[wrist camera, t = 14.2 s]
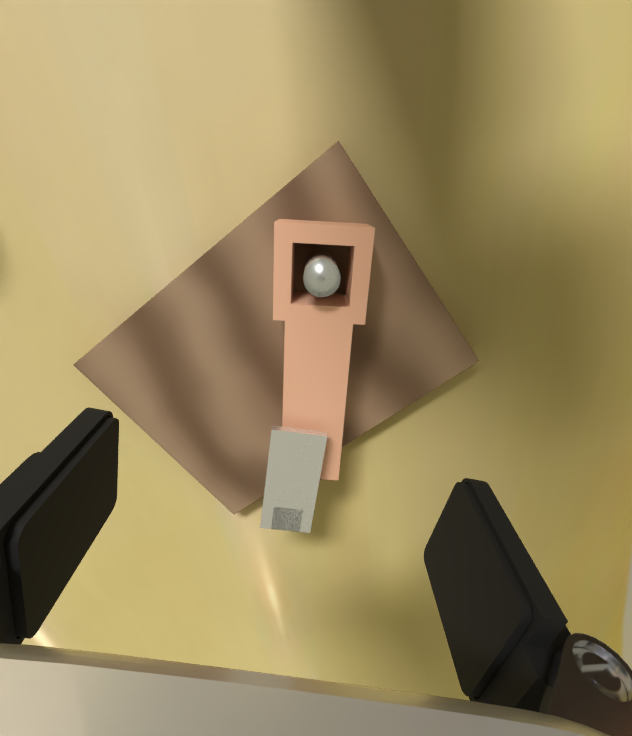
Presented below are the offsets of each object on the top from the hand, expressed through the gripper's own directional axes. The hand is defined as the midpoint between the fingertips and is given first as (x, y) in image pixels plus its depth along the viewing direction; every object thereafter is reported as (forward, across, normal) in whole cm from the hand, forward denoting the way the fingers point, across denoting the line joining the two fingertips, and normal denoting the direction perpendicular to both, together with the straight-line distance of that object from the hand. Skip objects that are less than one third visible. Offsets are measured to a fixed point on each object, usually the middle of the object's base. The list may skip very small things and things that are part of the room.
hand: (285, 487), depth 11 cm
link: (+17, -2, +3) cm, 18 cm away
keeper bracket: (+18, -2, +11) cm, 21 cm away
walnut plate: (+19, +1, +4) cm, 19 cm away
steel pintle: (+17, 0, -3) cm, 18 cm away
